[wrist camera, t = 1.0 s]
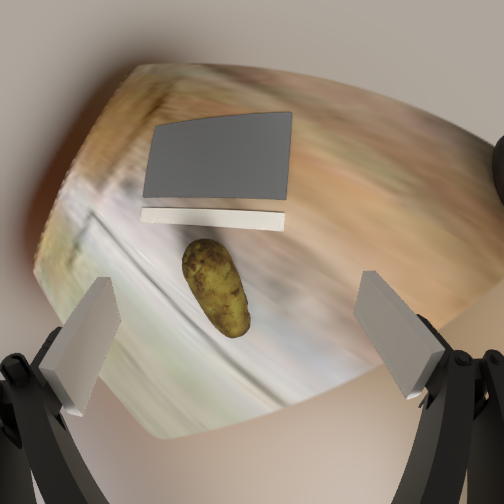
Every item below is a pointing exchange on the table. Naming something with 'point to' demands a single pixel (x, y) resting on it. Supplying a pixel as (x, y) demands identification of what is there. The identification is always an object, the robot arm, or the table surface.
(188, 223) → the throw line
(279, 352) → the table surface
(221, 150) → the mat
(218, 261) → the potato
